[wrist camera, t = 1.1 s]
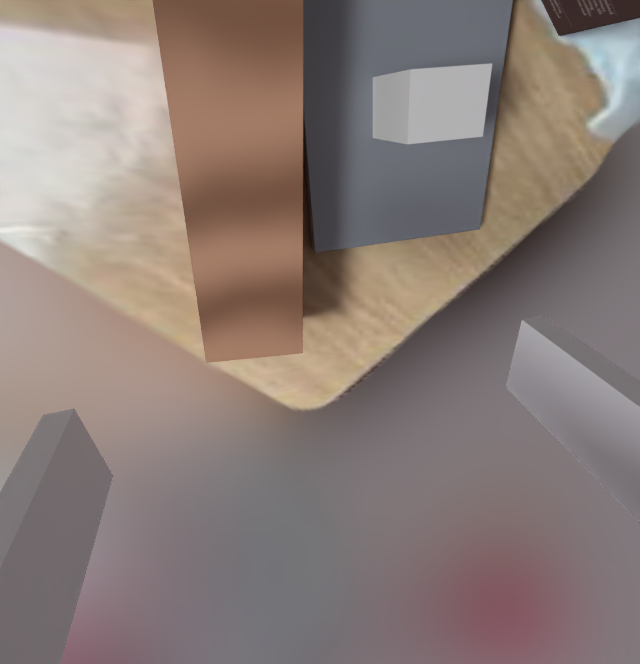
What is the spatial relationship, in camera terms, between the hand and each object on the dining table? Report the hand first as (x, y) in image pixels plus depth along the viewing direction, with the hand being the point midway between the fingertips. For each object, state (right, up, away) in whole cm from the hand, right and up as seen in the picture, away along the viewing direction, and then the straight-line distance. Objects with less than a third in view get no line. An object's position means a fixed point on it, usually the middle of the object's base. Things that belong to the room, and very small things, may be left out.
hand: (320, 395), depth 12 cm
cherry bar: (-5, +11, +12) cm, 17 cm away
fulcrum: (+5, +16, +12) cm, 20 cm away
